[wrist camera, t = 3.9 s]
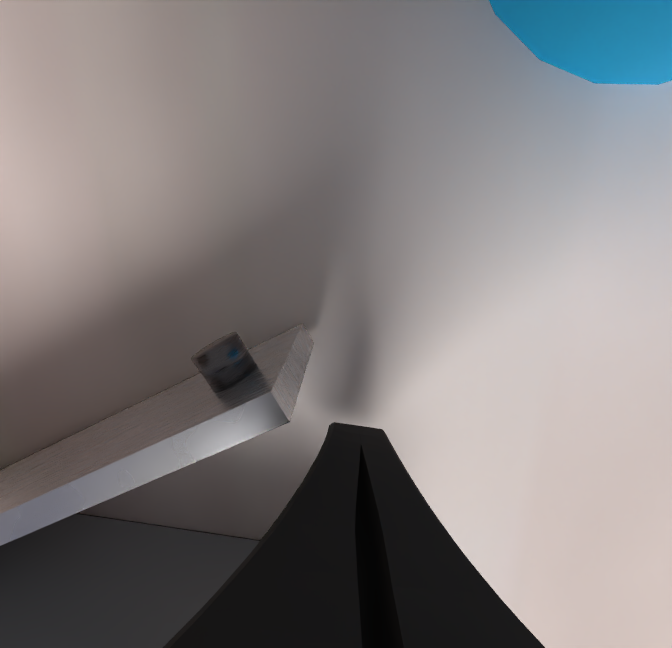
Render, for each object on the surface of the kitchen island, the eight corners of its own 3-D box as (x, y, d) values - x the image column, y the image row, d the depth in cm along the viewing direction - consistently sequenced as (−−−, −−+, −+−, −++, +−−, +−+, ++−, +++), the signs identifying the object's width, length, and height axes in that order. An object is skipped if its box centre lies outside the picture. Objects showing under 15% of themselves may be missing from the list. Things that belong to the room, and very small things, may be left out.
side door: (-20, 505, 11) (-200, 644, 8) (-56, 469, 11) (-265, 598, 7) (318, 347, 9) (293, 439, 5) (288, 295, 8) (239, 353, 5)
